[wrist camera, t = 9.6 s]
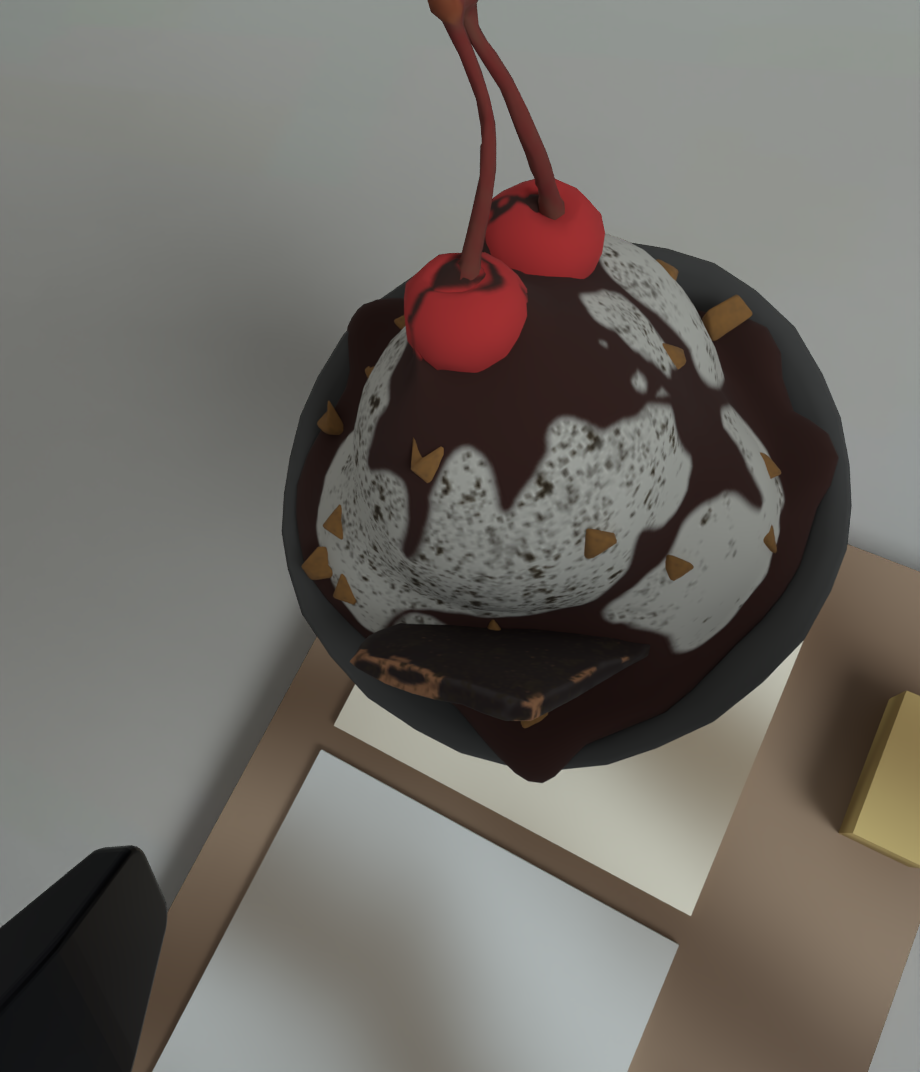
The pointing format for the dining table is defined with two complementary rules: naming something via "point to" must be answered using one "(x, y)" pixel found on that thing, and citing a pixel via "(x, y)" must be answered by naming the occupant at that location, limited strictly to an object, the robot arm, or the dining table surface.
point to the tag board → (566, 883)
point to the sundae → (562, 481)
